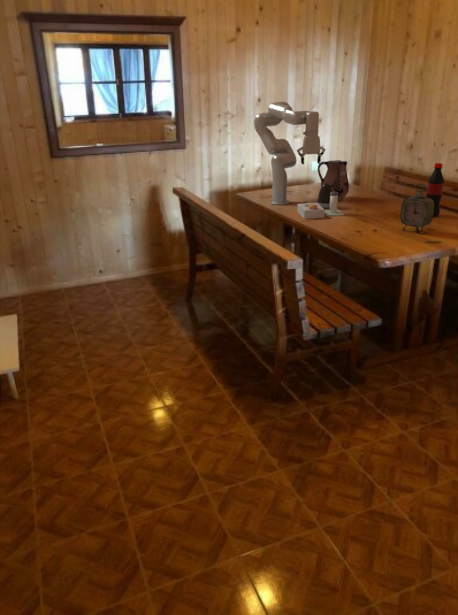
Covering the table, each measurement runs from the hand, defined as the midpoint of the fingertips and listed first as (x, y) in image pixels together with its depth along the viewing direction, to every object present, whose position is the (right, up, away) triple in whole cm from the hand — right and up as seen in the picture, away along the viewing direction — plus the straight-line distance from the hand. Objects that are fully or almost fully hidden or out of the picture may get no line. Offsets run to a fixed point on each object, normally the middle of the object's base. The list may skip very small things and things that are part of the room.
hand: (310, 163), depth 305 cm
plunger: (0, -32, -4) cm, 32 cm away
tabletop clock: (+50, -47, -37) cm, 78 cm away
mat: (+14, -30, +2) cm, 33 cm away
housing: (0, -31, +1) cm, 31 cm away
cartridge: (+14, -29, +1) cm, 32 cm away
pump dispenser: (+12, -23, +17) cm, 31 cm away
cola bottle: (+69, -33, -9) cm, 78 cm away
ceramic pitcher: (+21, -13, +38) cm, 46 cm away
